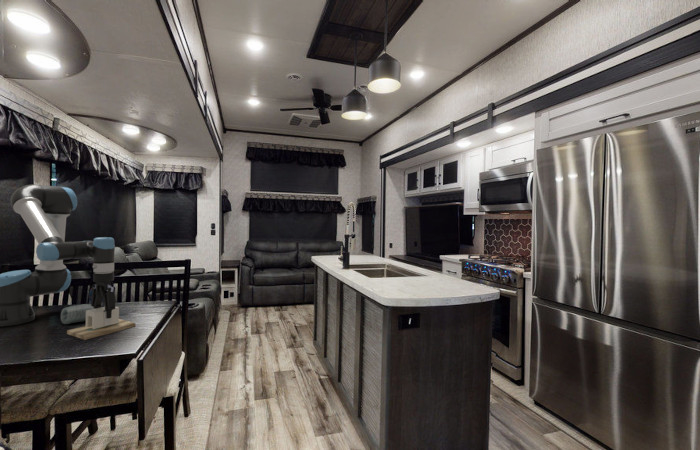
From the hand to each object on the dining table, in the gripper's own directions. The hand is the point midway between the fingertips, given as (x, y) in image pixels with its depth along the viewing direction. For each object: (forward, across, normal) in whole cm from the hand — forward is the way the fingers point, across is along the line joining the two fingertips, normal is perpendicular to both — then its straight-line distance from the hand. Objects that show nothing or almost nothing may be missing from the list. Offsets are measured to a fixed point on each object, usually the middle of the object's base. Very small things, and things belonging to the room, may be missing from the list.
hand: (102, 324), depth 146 cm
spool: (+3, -21, +1) cm, 21 cm away
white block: (0, 0, 0) cm, 0 cm away
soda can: (+3, -34, +15) cm, 37 cm away
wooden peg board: (+3, 0, 0) cm, 3 cm away
